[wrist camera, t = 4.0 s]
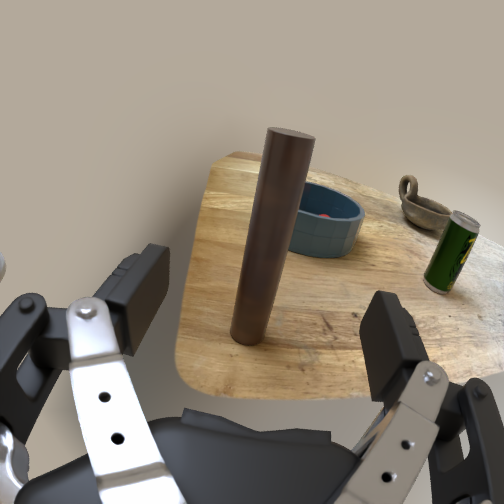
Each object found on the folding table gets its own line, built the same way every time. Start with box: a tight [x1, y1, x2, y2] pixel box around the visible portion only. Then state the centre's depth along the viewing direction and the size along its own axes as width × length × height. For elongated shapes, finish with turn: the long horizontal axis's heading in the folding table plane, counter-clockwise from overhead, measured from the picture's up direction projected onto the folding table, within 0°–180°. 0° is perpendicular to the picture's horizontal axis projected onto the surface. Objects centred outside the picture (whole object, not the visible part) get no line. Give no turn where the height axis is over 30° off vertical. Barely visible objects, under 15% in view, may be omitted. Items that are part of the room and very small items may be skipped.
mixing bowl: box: [288, 181, 365, 258], centre depth 48 cm, size 17×17×6 cm
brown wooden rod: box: [230, 127, 315, 345], centre depth 23 cm, size 3×3×18 cm
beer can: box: [424, 210, 480, 294], centre depth 38 cm, size 5×5×12 cm
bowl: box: [399, 175, 453, 230], centre depth 64 cm, size 14×18×10 cm
